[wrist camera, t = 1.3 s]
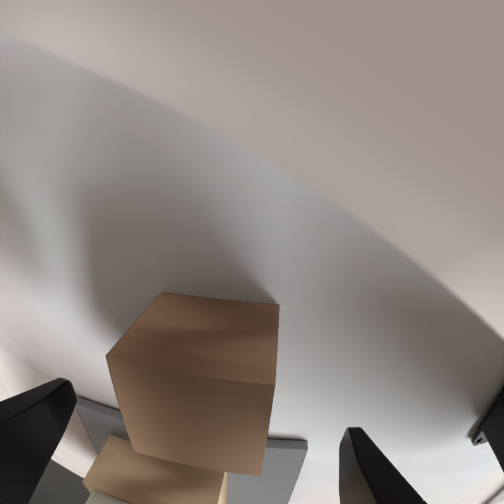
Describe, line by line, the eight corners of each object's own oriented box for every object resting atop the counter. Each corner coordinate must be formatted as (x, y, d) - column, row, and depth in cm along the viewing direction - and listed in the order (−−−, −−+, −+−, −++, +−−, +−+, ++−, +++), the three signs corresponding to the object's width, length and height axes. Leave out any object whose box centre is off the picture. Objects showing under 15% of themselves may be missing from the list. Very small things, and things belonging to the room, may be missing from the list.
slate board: (307, 441, 13) (307, 449, 12) (282, 511, 16) (281, 517, 15) (78, 396, 14) (73, 402, 13) (117, 479, 17) (114, 484, 16)
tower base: (226, 462, 13) (213, 522, 9) (227, 508, 15) (218, 552, 11) (110, 434, 14) (82, 482, 10) (134, 487, 16) (117, 525, 12)
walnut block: (279, 303, 11) (274, 384, 7) (269, 393, 12) (260, 476, 8) (162, 291, 11) (105, 355, 7) (170, 379, 13) (134, 451, 8)
